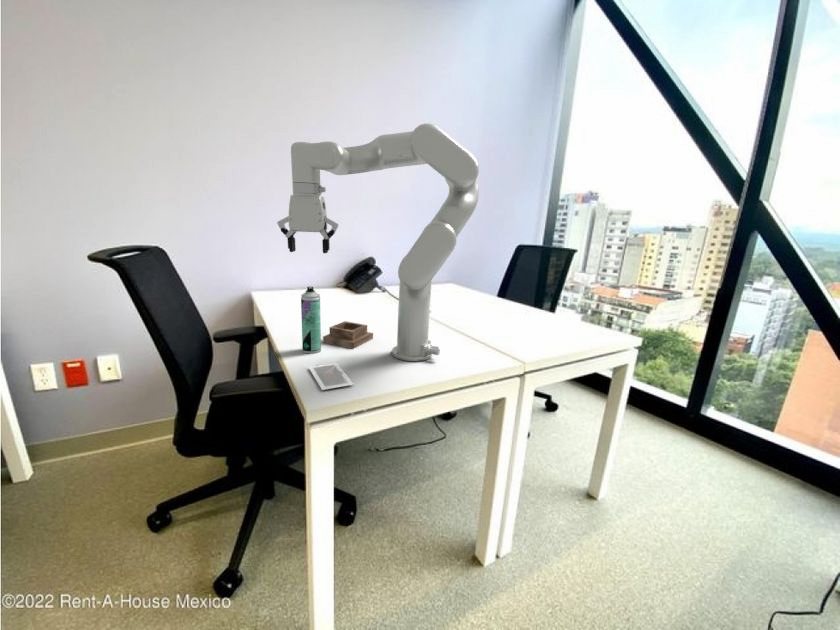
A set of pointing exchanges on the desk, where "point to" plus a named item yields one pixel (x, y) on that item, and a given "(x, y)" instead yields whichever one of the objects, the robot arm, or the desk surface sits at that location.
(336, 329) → the display stand
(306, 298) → the spray can
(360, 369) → the desk surface
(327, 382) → the touchpad
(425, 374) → the desk surface
